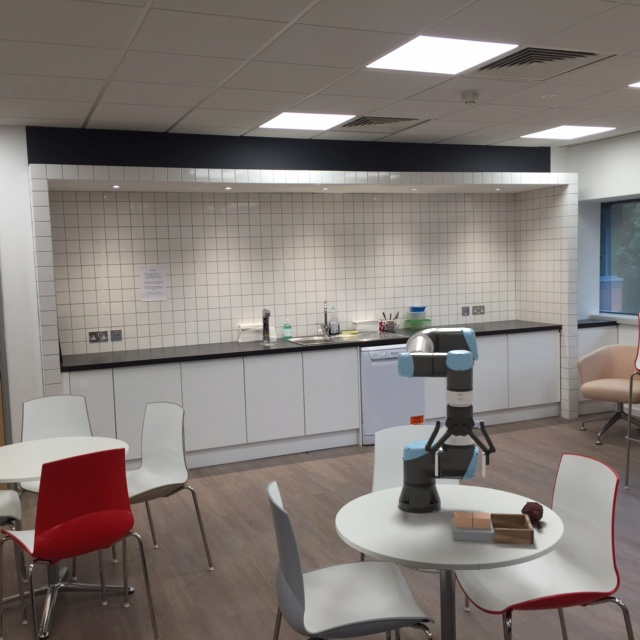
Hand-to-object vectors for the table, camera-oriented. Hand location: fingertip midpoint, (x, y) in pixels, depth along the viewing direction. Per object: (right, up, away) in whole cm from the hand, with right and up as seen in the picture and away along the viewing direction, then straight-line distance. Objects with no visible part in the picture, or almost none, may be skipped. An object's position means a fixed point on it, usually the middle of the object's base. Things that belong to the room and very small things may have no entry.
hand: (460, 475), depth 206 cm
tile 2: (+11, -21, +22) cm, 33 cm away
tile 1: (+6, -21, +23) cm, 32 cm away
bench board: (+9, -24, +23) cm, 34 cm away
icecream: (+31, -23, +32) cm, 50 cm away
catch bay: (+21, -24, +21) cm, 38 cm away
